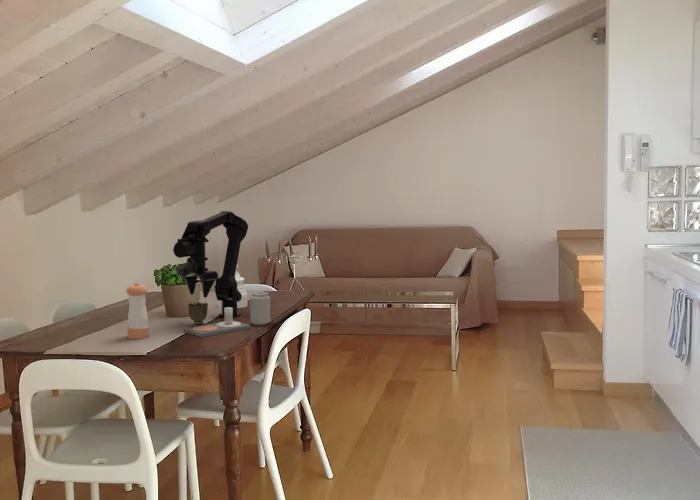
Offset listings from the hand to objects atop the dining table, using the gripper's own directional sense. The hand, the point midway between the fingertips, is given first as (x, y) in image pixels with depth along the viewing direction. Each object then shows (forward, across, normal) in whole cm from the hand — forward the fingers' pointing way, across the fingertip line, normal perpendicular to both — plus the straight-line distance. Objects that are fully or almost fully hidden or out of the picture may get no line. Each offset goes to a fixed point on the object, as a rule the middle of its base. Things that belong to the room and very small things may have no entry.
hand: (198, 295), depth 266 cm
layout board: (+11, +13, 0) cm, 17 cm away
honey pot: (+11, -23, +31) cm, 40 cm away
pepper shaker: (+11, +2, -26) cm, 29 cm away
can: (+11, +15, +18) cm, 26 cm away
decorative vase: (+11, 0, 0) cm, 11 cm away
